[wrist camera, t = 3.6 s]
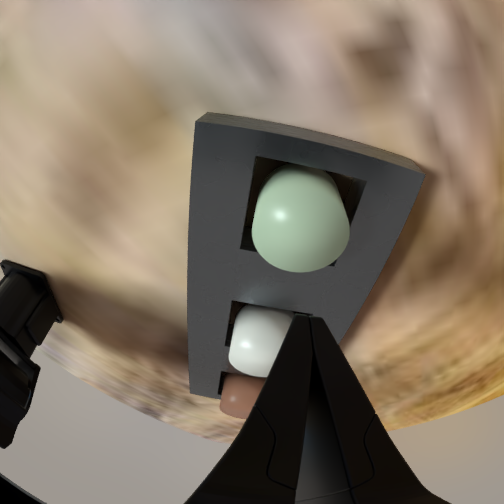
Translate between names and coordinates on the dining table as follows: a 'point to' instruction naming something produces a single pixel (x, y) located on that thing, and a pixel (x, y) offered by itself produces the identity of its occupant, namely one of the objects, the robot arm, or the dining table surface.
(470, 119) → the dining table surface
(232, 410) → the terracotta button
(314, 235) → the sage button
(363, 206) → the button panel
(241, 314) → the white button
